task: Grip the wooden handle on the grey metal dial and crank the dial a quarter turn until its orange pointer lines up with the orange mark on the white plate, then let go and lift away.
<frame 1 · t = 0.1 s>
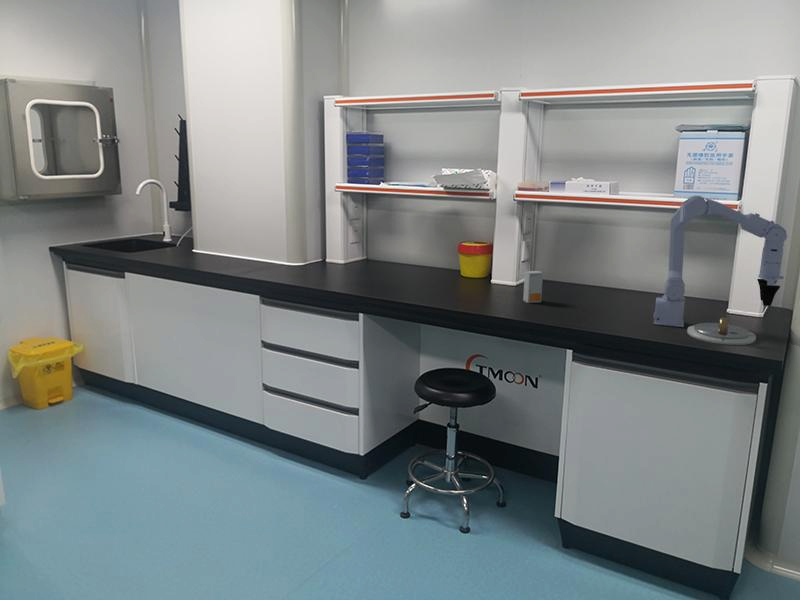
hand: (765, 303, 211), 10 cm above the worktop, tool pointing down, fingers open, 7 cm apart
dial: (722, 323, 208), point 4 cm above the worktop, hinge at 0.0°
skincare box: (532, 302, 255), on the worktop
dial plate: (720, 335, 209), on the worktop
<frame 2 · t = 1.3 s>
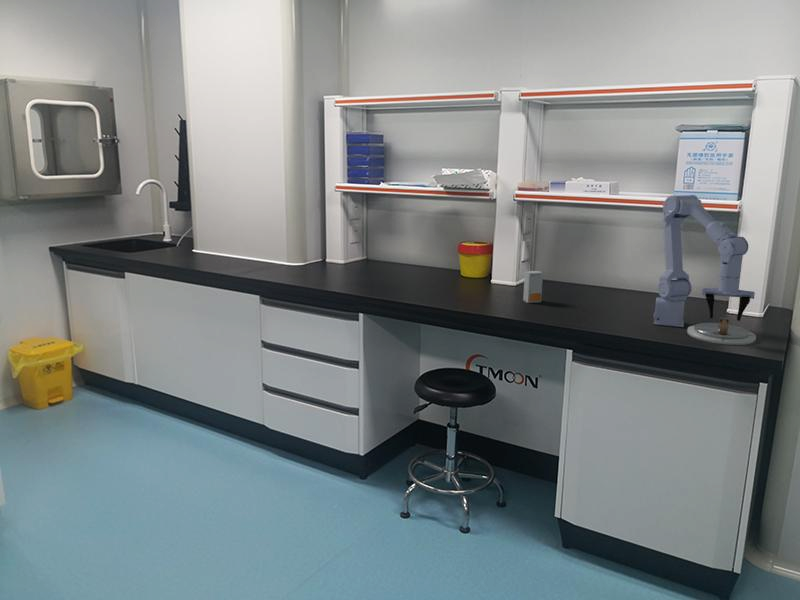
hand: (724, 318, 202), 7 cm above the worktop, tool pointing down, fingers open, 7 cm apart
nothing on the worktop moved.
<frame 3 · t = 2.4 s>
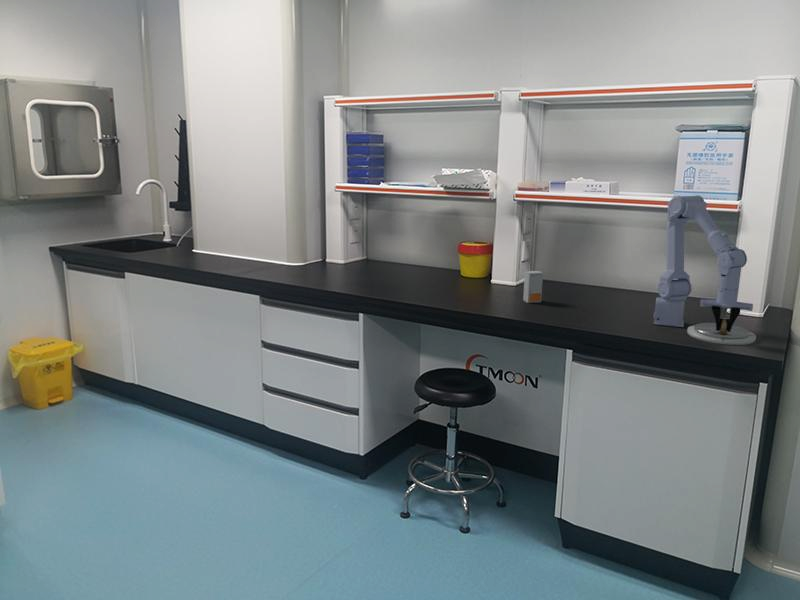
hand: (723, 330, 203), 3 cm above the worktop, tool pointing down, fingers closed on dial, 3 cm apart
dial: (722, 323, 208), point 4 cm above the worktop, hinge at 0.0°, touching gripper
everything else where it was.
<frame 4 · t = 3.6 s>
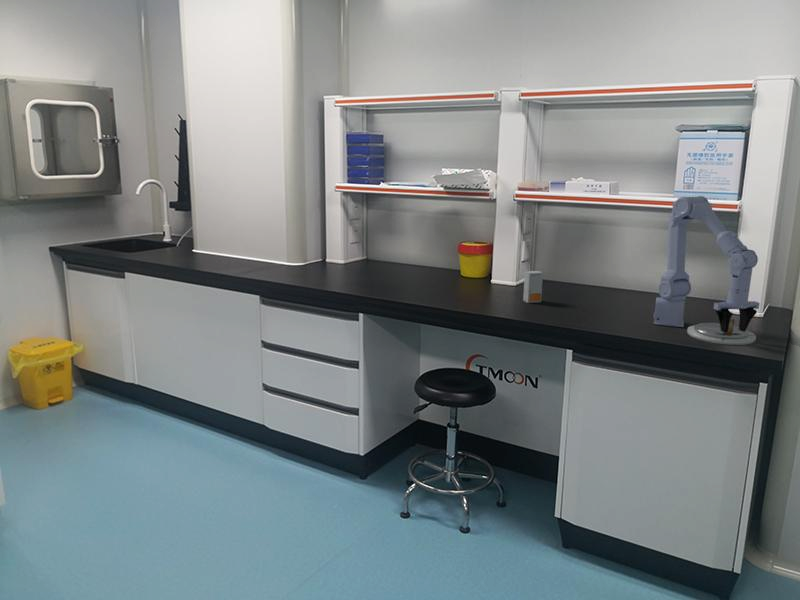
hand: (733, 331, 203), 3 cm above the worktop, tool pointing down, fingers open, 6 cm apart
dial: (722, 323, 208), point 4 cm above the worktop, hinge at 13.9°, touching gripper
everything else where it was.
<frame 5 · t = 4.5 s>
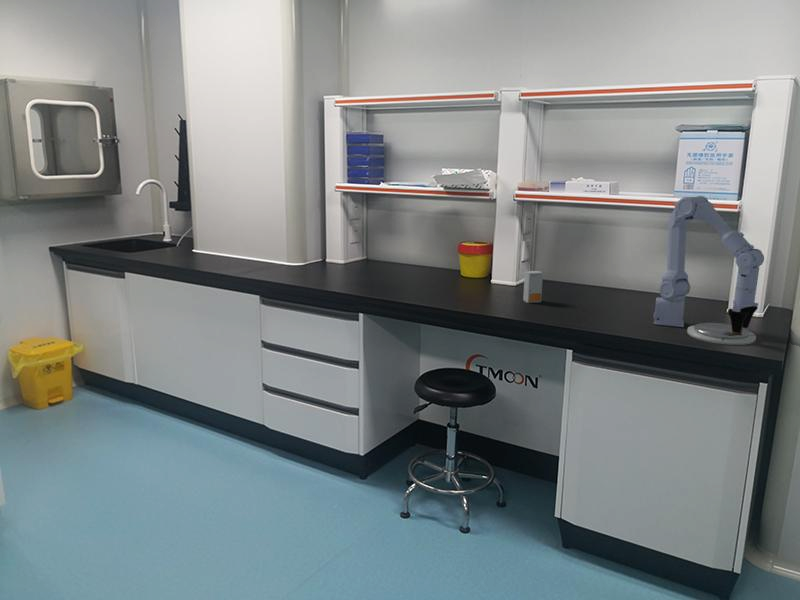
hand: (740, 329, 205), 3 cm above the worktop, tool pointing down, fingers open, 7 cm apart
dial: (722, 323, 208), point 4 cm above the worktop, hinge at 44.2°, touching gripper
everything else where it was.
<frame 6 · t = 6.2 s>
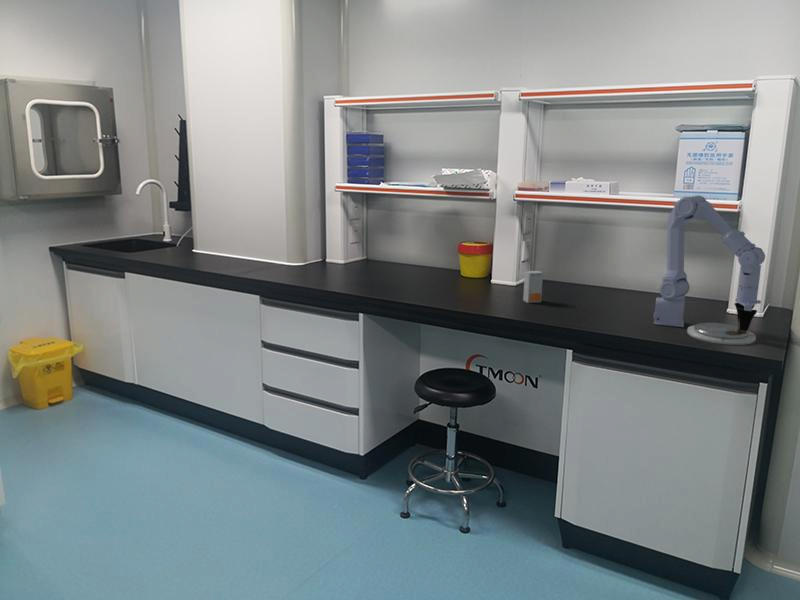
hand: (742, 327, 206), 3 cm above the worktop, tool pointing down, fingers open, 5 cm apart
dial: (722, 323, 208), point 4 cm above the worktop, hinge at 75.6°, touching gripper
everything else where it was.
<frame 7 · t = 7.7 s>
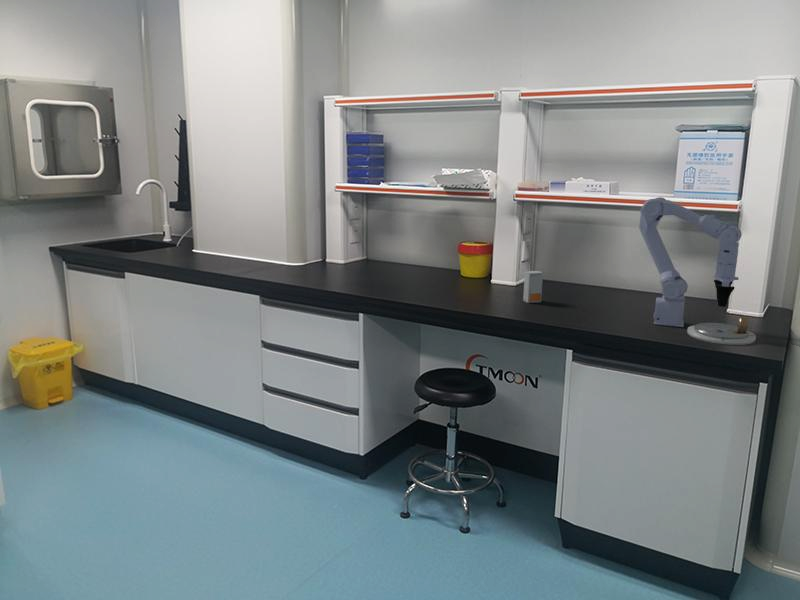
hand: (721, 303, 213), 9 cm above the worktop, tool pointing down, fingers open, 7 cm apart
dial: (722, 323, 208), point 4 cm above the worktop, hinge at 75.6°
everything else where it was.
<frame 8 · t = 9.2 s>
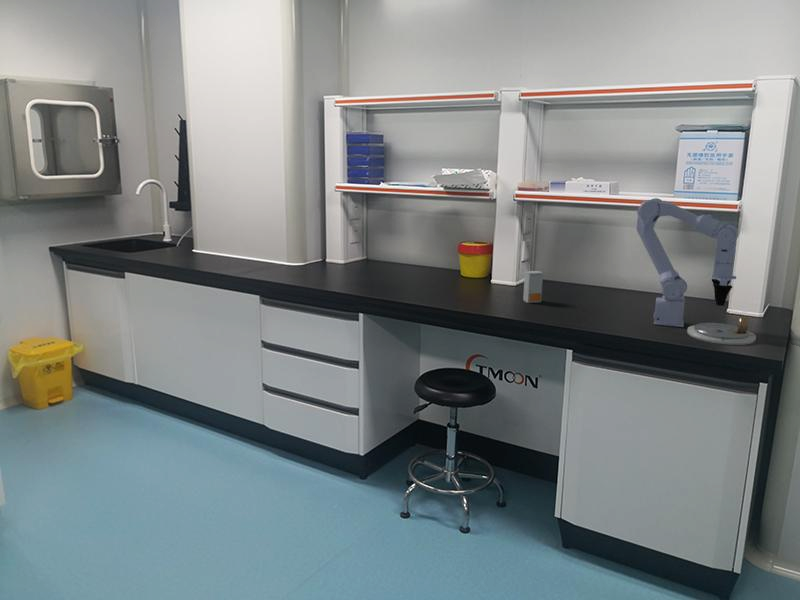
hand: (719, 302, 214), 9 cm above the worktop, tool pointing down, fingers open, 7 cm apart
nothing on the worktop moved.
at the end: dial at +76° (first picture: +0°); the gripper is holding nothing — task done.
